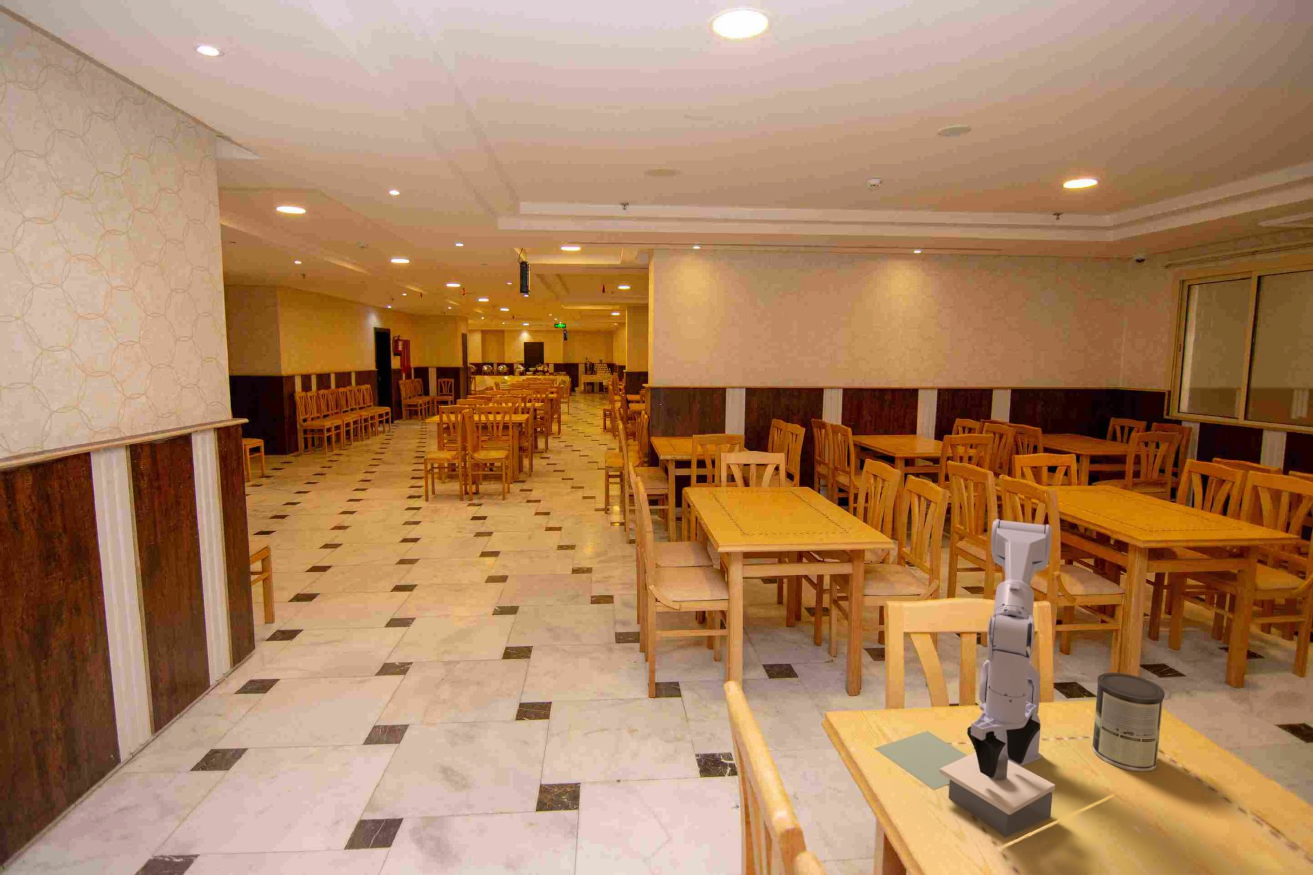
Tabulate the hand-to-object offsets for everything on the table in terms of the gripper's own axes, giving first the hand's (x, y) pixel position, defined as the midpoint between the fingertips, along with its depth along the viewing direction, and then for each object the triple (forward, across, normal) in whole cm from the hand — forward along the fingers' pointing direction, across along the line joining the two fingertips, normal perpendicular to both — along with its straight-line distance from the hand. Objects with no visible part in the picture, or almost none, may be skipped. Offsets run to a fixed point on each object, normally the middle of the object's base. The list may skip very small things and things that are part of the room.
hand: (1001, 767), depth 113 cm
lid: (+3, 0, -1) cm, 3 cm away
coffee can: (+8, -35, +2) cm, 36 cm away
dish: (+7, 0, 0) cm, 7 cm away
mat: (+7, -2, -15) cm, 17 cm away
